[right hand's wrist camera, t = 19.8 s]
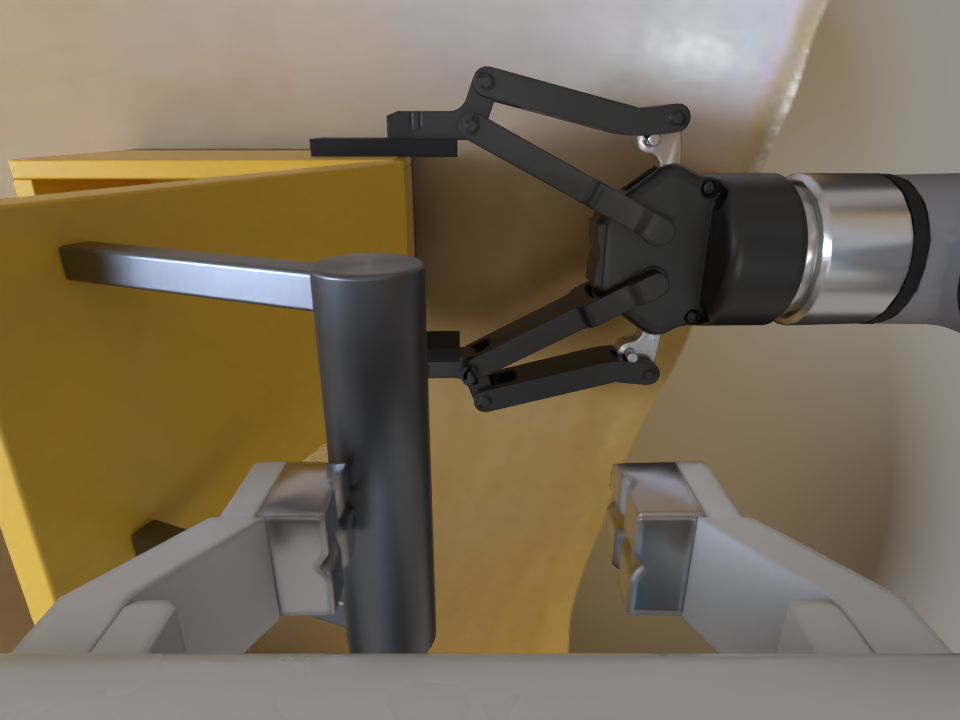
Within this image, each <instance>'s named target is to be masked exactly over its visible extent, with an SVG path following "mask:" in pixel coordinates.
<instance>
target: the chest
mask: <svg viewBox="0 0 960 720" xmlns="http://www.w3.org/2000/svg"><path fill="white" fill-rule="evenodd" d="M371 161H402V162H403V163H404V179H405V203H406V227H407V251H408V256H412V257H415V258H416V232H415V205H414V178H413V157H315V156H311V149H133V150H125V151H112V152H100V153H87V154H75V155H62V156H50V157H37V158H25V159H12V160H9V165H10V169H11V173H12V177H13V178H14V180H13V182H14V186H15V190H16V194H17V197H25V196H35V195H45V194H55V193H65V192H74V191H84V190H94V189H104V188H114V187H124V186H134V185H144V184H153V183H163V182H173V181H183V180H193V179H203V178H213V177H223V176H233V175H242V174H252V173H262V172H272V171H282V170H292V169H302V168H312V167H321V166H331V165H341V164H351V163H361V162H371Z"/></svg>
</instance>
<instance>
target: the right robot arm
mask: <svg viewBox="0 0 960 720" xmlns="http://www.w3.org/2000/svg"><path fill="white" fill-rule="evenodd" d="M351 488H352V479H351V470H350V467H349V465H348V463H324V462H287V461H279V462H259V463H256V464H255V465H254V466H253V468H252V469H251V471H250V472H249V474H248V475H247V477H246V478H245V480H244V481H243V483H242V484H241V486H240V487H239V489H238V490H237V492H236V493H235V495H234V496H233V498H232V499H231V501H230V502H229V504H228V505H227V507H226V508H225V510H224V511H223V513H222V514H221V516H220V517H210V518H208V519H206V520H204V521H202V522H200V523H198V524H197V525H195V526H193V527H191V528H189V529H187V530H185V531H183V532H182V533H180V534H178V535H176V536H174V537H172V538H170V539H168V540H167V541H165V542H163V543H161V544H159V545H157V546H155V547H153V548H152V549H150V550H148V551H146V552H144V553H142V554H140V555H138V556H137V557H135V558H133V559H131V560H129V561H127V562H125V563H123V564H122V565H120V566H118V567H116V568H114V569H112V570H110V571H108V572H107V573H105V574H103V575H101V576H99V577H97V578H95V579H93V580H92V581H90V582H88V583H86V584H84V585H82V586H80V587H78V588H77V589H75V590H73V591H71V592H69V593H67V594H65V595H63V596H61V597H60V598H58V600H57V601H56V602H55V603H54V604H53V605H52V606H51V607H50V609H49V610H48V611H47V612H46V613H45V614H44V615H43V616H42V618H41V619H40V620H39V621H38V622H37V623H36V624H35V626H34V627H33V628H32V629H31V630H30V631H29V632H28V633H27V635H26V636H25V637H24V638H23V639H22V640H21V641H20V642H19V644H18V645H17V646H16V647H15V648H14V649H13V650H12V651H11V653H10V654H0V720H960V653H953V652H952V651H951V650H950V649H949V648H948V647H947V645H946V644H945V643H944V642H943V641H942V640H941V639H940V638H939V636H938V635H937V634H936V633H935V632H934V631H933V630H932V629H931V627H930V626H929V625H928V624H927V623H926V622H925V621H924V620H923V618H922V617H921V616H920V615H919V614H918V613H917V612H916V610H915V609H914V608H913V607H912V606H911V605H910V604H909V603H908V602H907V600H906V599H905V598H903V597H901V596H899V595H897V594H895V593H893V592H892V591H890V590H888V589H886V588H884V587H882V586H880V585H878V584H877V583H875V582H873V581H871V580H869V579H867V578H865V577H863V576H861V575H860V574H858V573H856V572H854V571H852V570H850V569H848V568H847V567H845V566H843V565H841V564H839V563H837V562H835V561H833V560H832V559H830V558H828V557H826V556H824V555H822V554H820V553H818V552H816V551H815V550H813V549H811V548H809V547H807V546H805V545H803V544H801V543H800V542H798V541H796V540H794V539H792V538H790V537H788V536H786V535H785V534H783V533H781V532H779V531H777V530H775V529H773V528H771V527H769V526H768V525H766V524H764V523H762V522H760V521H758V520H756V519H755V518H753V517H742V515H741V514H740V512H739V511H738V509H737V508H736V506H735V505H734V503H733V502H732V501H731V499H730V498H729V496H728V495H727V493H726V492H725V490H724V489H723V487H722V486H721V484H720V483H719V481H718V480H717V479H716V477H715V475H714V474H713V473H712V471H711V470H710V468H709V467H708V465H707V464H706V463H704V462H702V461H693V462H661V463H620V464H613V466H612V470H611V476H610V489H611V492H612V494H613V497H614V501H613V502H612V504H611V505H610V506H609V507H608V508H607V522H606V530H607V544H608V550H609V555H610V558H611V562H612V564H613V565H614V566H615V567H617V568H618V569H619V577H618V585H619V589H620V592H621V595H622V599H623V602H624V605H625V608H626V611H627V614H631V615H667V616H682V619H683V620H684V621H685V622H686V623H687V624H688V625H690V626H691V627H692V628H693V629H694V630H695V631H696V632H697V633H698V634H699V635H700V636H701V637H702V638H703V639H704V640H705V641H706V642H708V643H709V644H710V645H711V646H712V647H713V648H714V649H715V650H716V651H717V652H718V653H717V654H716V653H715V654H714V653H710V654H709V653H707V654H706V653H702V654H701V653H699V654H695V653H691V654H690V653H689V654H688V653H687V654H261V653H245V652H246V651H247V650H248V649H249V648H250V647H251V646H252V645H253V644H254V643H255V642H256V641H257V640H258V639H259V638H260V637H261V636H262V635H264V634H265V633H266V632H267V631H268V630H269V629H270V628H271V627H272V626H273V625H274V624H275V623H276V622H277V621H278V620H279V619H280V616H295V615H331V614H335V612H336V609H337V606H338V602H339V599H340V596H341V592H342V589H343V586H344V576H343V569H344V568H345V567H347V566H348V565H349V564H350V562H351V558H352V555H353V550H354V542H355V512H354V508H353V506H352V505H351V504H350V503H349V502H348V497H349V494H350V491H351Z"/></svg>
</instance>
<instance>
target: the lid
mask: <svg viewBox="0 0 960 720" xmlns="http://www.w3.org/2000/svg"><path fill="white" fill-rule="evenodd" d="M326 442H327V450H328V460H329V463H348V465H349V467H350V470H351V479H352V488H351V491H350V494H349V497H348V502H349V503H350V504H351V505H352V506H353V508H354V512H355V542H354V550H353V555H352V558H351V562H350V564H349V565H348V566H347V567H345V568H344V569H343V576H344V586H343V589H342V592H341V596H340V599H339V602H338V606H337V609H336V612H335V614H331V615H309V616H312V617H315V618H318V619H321V620H324V621H327V622H330V623H333V624H336V625H339V626H342V627H345V628H346V635H347V643H348V648H349V650H350V652H351V654H426V653H427V652H428V651H429V649H430V648H431V646H432V644H433V642H434V639H435V636H436V613H435V582H434V550H433V519H432V488H431V457H430V426H429V394H428V363H427V332H426V301H425V269H424V264H423V262H422V261H421V260H419V259H417V258H415V257H412V256H408V251H407V227H406V203H405V179H404V163H403V162H402V161H371V162H361V163H351V164H341V165H331V166H321V167H312V168H302V169H292V170H282V171H272V172H262V173H252V174H242V175H233V176H223V177H213V178H203V179H193V180H183V181H173V182H163V183H153V184H144V185H134V186H124V187H114V188H104V189H94V190H84V191H74V192H65V193H55V194H45V195H35V196H25V197H15V198H5V199H0V527H1V530H2V533H3V536H4V539H5V542H6V545H7V547H8V550H9V553H10V556H11V559H12V562H13V565H14V568H15V571H16V573H17V576H18V579H19V582H20V585H21V588H22V591H23V594H24V597H25V599H26V602H27V605H28V608H29V611H30V614H31V617H32V620H33V623H34V626H35V624H36V623H37V622H38V621H39V620H40V619H41V618H42V616H43V615H44V614H45V613H46V612H47V611H48V610H49V609H50V607H51V606H52V605H53V604H54V603H55V602H56V601H57V600H58V598H60V597H61V596H63V595H65V594H67V593H69V592H71V591H73V590H75V589H77V588H78V587H80V586H82V585H84V584H86V583H88V582H90V581H92V580H93V579H95V578H97V577H99V576H101V575H103V574H105V573H107V572H108V571H110V570H112V569H114V568H116V567H118V566H120V565H122V564H123V563H125V562H127V561H129V560H131V559H133V558H135V557H137V556H138V555H140V554H142V553H144V552H146V551H148V550H150V549H152V548H153V547H155V546H157V545H159V544H161V543H163V542H165V541H167V540H168V539H170V538H172V537H174V536H176V535H178V534H180V533H182V532H183V531H185V530H187V529H189V528H191V527H193V526H195V525H197V524H198V523H200V522H202V521H204V520H206V519H208V518H210V517H220V516H221V514H222V513H223V511H224V510H225V508H226V507H227V505H228V504H229V502H230V501H231V499H232V498H233V496H234V495H235V493H236V492H237V490H238V489H239V487H240V486H241V484H242V483H243V481H244V480H245V478H246V477H247V475H248V474H249V472H250V471H251V469H252V468H253V466H254V465H255V464H256V463H259V462H279V461H287V462H301V461H303V460H304V459H305V458H307V457H308V456H309V455H311V454H312V453H313V452H314V451H316V450H317V449H318V448H320V447H321V446H322V445H323V444H325V443H326Z"/></svg>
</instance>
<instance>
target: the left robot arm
mask: <svg viewBox="0 0 960 720" xmlns="http://www.w3.org/2000/svg"><path fill="white" fill-rule="evenodd" d="M494 102H497V103H501V104H505V105H508V106H512V107H516V108H520V109H523V110H527V111H531V112H534V113H538V114H542V115H546V116H549V117H553V118H557V119H560V120H564V121H568V122H572V123H575V124H579V125H583V126H587V127H590V128H594V129H598V130H601V131H605V132H609V133H614V134H620V135H632V143H633V146H634V148H635V149H636V150H638V151H640V152H646V153H648V154H650V155H651V156H652V157H653V159H654V164H655V166H653V167H651V168H650V169H649V170H647V171H646V172H644V173H643V174H642V175H640V176H639V177H637V178H636V179H635V180H633V181H632V182H630V183H629V184H628V185H626V186H625V187H623V188H622V189H620V190H619V191H616V190H614V189H612V188H611V187H609V186H607V185H605V184H603V183H602V182H600V181H598V180H596V179H594V178H592V177H591V176H589V175H587V174H585V173H583V172H582V171H580V170H578V169H576V168H575V167H573V166H571V165H569V164H567V163H566V162H564V161H562V160H560V159H559V158H557V157H555V156H553V155H551V154H550V153H548V152H546V151H544V150H543V149H541V148H539V147H537V146H535V145H534V144H532V143H530V142H528V141H527V140H525V139H523V138H521V137H519V136H518V135H516V134H514V133H512V132H511V131H509V130H507V129H505V128H503V127H502V126H500V125H498V124H496V123H495V122H493V121H491V120H489V119H488V118H489V115H490V112H491V109H492V106H493V103H494ZM690 117H691V116H690V111H689V109H688V108H687V107H686V106H685V105H683V104H667V105H657V106H648V107H640V108H638V107H634V106H631V105H627V104H624V103H620V102H616V101H613V100H609V99H605V98H602V97H598V96H594V95H591V94H587V93H584V92H580V91H576V90H573V89H569V88H565V87H562V86H558V85H555V84H551V83H547V82H544V81H540V80H536V79H533V78H529V77H526V76H522V75H518V74H515V73H511V72H507V71H504V70H500V69H496V68H493V67H486V66H484V67H482V68H479V69H478V70H477V71H476V72H475V75H474V77H473V80H472V83H471V86H470V89H469V92H468V95H467V98H466V100H465V103H464V104H463V105H462V106H461V107H460V108H459V109H457V110H455V111H397V112H395V113H393V114H390V115H388V116H387V133H388V138H315V139H310V148H311V156H315V157H457V140H469V141H470V142H472V143H474V144H476V145H478V146H480V147H481V148H483V149H485V150H487V151H489V152H490V153H492V154H494V155H496V156H498V157H500V158H501V159H503V160H505V161H507V162H509V163H510V164H512V165H514V166H516V167H518V168H519V169H521V170H523V171H525V172H527V173H529V174H530V175H532V176H534V177H536V178H538V179H539V180H541V181H543V182H545V183H547V184H549V185H550V186H552V187H554V188H556V189H558V190H559V191H561V192H563V193H565V194H567V195H568V196H570V197H572V198H574V199H576V200H578V201H579V202H581V203H583V204H585V205H586V206H588V207H590V208H592V209H594V210H595V213H594V215H593V218H590V223H589V236H590V241H591V246H592V249H591V252H590V255H589V258H588V261H587V268H586V278H587V279H588V280H589V281H587V282H585V283H583V284H581V285H579V286H577V287H576V288H574V289H573V290H571V292H570V293H569V294H568V295H566V296H564V297H562V298H560V299H558V300H556V301H554V302H552V303H550V304H548V305H546V306H544V307H542V308H540V309H538V310H536V311H534V312H532V313H530V314H528V315H526V316H524V317H522V318H520V319H518V320H516V321H514V322H512V323H510V324H508V325H506V326H504V327H502V328H500V329H498V330H496V331H494V332H492V333H490V334H488V335H486V336H484V337H482V338H480V339H478V340H476V341H474V342H472V343H470V344H468V345H466V346H465V347H460V331H426V332H427V363H428V378H459V379H462V381H463V383H464V384H465V385H467V386H468V387H469V389H470V392H471V394H472V397H473V399H474V405H475V407H476V408H477V409H478V410H479V411H482V412H489V411H493V410H497V409H502V408H506V407H510V406H515V405H519V404H523V403H527V402H532V401H536V400H540V399H545V398H549V397H553V396H558V395H562V394H566V393H570V392H575V391H579V390H583V389H588V388H592V387H596V386H600V385H605V384H609V383H613V382H619V383H631V384H642V385H650V384H653V383H655V382H656V381H657V380H658V378H659V376H660V371H659V369H658V367H657V366H656V364H655V357H656V353H657V348H658V344H659V340H660V335H661V334H664V333H666V332H668V331H670V330H672V329H674V328H676V327H679V326H684V325H700V326H711V325H765V324H769V323H771V322H773V321H774V322H776V323H777V324H782V325H815V324H852V323H858V324H874V323H886V324H887V323H888V324H931V325H939V326H944V327H947V328H950V329H952V330H954V331H957V332H959V333H960V173H951V174H913V175H892V174H879V173H878V174H877V173H876V174H875V173H798V174H791V175H789V176H787V177H784V176H782V175H780V174H777V173H696V172H693V171H691V170H690V169H688V168H687V167H685V166H683V165H681V131H682V130H684V129H685V128H686V127H687V126H688V124H689V122H690ZM619 315H622V316H623V317H624V318H626V319H627V320H628V321H630V322H631V323H632V324H634V325H635V326H637V327H638V328H637V330H636V332H635V333H634V334H633V335H631V336H628V337H622V338H620V339H618V340H617V341H616V343H615V345H614V346H599V347H593V348H589V349H585V350H580V351H576V352H572V353H568V354H564V355H559V356H555V357H551V358H547V359H542V360H538V361H534V362H530V363H526V364H521V365H517V366H513V367H509V368H504V367H506V366H508V365H510V364H512V363H514V362H516V361H518V360H520V359H522V358H524V357H526V356H528V355H530V354H533V353H535V352H537V351H539V350H541V349H543V348H545V347H547V346H549V345H551V344H553V343H555V342H557V341H559V340H561V339H563V338H565V337H567V336H569V335H571V334H573V333H575V332H577V331H579V330H581V329H584V328H587V327H595V326H598V325H600V324H602V323H604V322H606V321H608V320H610V319H612V318H614V317H616V316H619ZM502 368H504V369H502Z"/></svg>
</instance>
